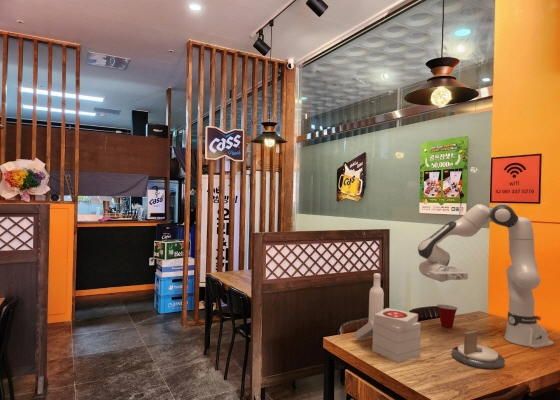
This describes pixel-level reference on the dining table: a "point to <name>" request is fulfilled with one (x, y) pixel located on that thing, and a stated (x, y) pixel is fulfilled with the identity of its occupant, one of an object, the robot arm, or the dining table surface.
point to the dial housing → (478, 364)
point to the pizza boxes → (393, 334)
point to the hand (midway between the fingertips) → (458, 278)
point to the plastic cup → (447, 315)
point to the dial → (476, 349)
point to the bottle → (375, 298)
